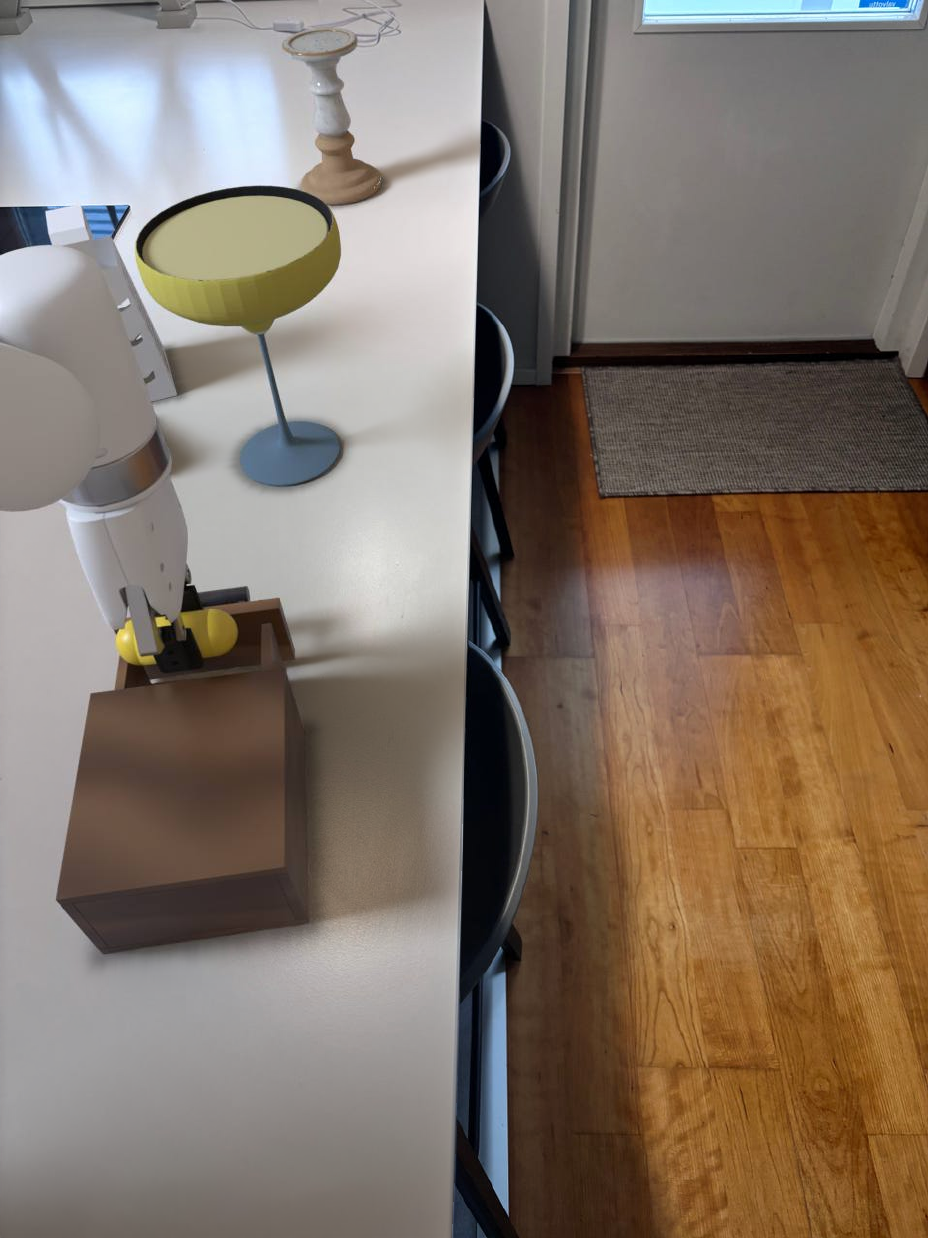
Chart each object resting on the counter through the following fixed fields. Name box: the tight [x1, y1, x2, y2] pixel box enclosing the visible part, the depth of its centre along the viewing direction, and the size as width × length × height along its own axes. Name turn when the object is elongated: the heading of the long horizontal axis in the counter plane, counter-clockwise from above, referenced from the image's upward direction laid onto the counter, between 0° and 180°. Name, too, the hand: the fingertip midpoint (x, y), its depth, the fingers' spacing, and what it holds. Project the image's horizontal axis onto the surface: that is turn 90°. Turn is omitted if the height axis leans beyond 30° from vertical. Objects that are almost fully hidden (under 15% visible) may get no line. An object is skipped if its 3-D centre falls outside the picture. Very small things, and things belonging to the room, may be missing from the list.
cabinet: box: [55, 666, 310, 954], centre depth 69 cm, size 17×15×9 cm
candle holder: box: [281, 27, 382, 206], centre depth 137 cm, size 12×12×20 cm
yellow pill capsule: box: [115, 609, 238, 665], centre depth 71 cm, size 9×4×4 cm
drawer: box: [113, 585, 296, 690], centre depth 76 cm, size 20×13×7 cm
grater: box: [44, 203, 178, 402], centre depth 106 cm, size 10×10×20 cm
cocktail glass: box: [134, 185, 342, 487], centre depth 93 cm, size 18×18×25 cm
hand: (184, 644), depth 72 cm, fingers closed on yellow pill capsule, 3 cm apart
